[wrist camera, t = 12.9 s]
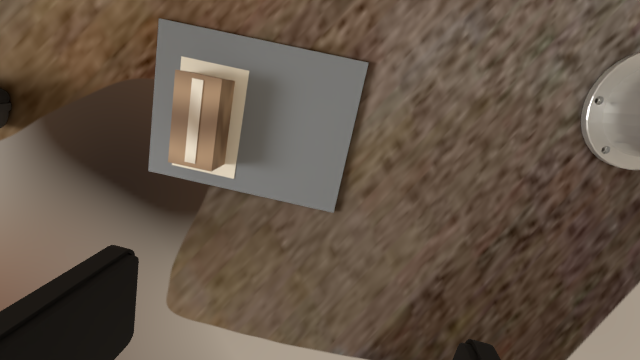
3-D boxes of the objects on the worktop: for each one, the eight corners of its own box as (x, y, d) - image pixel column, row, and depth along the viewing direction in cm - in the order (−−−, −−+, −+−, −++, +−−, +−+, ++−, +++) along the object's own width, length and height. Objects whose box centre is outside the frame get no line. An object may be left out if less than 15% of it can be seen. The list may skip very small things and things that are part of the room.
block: (224, 164, 40) (211, 171, 36) (185, 155, 40) (167, 162, 36) (235, 81, 37) (221, 79, 33) (193, 72, 37) (174, 69, 33)
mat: (368, 63, 36) (368, 62, 36) (333, 211, 41) (333, 213, 40) (161, 19, 37) (158, 17, 36) (151, 169, 42) (147, 171, 41)
